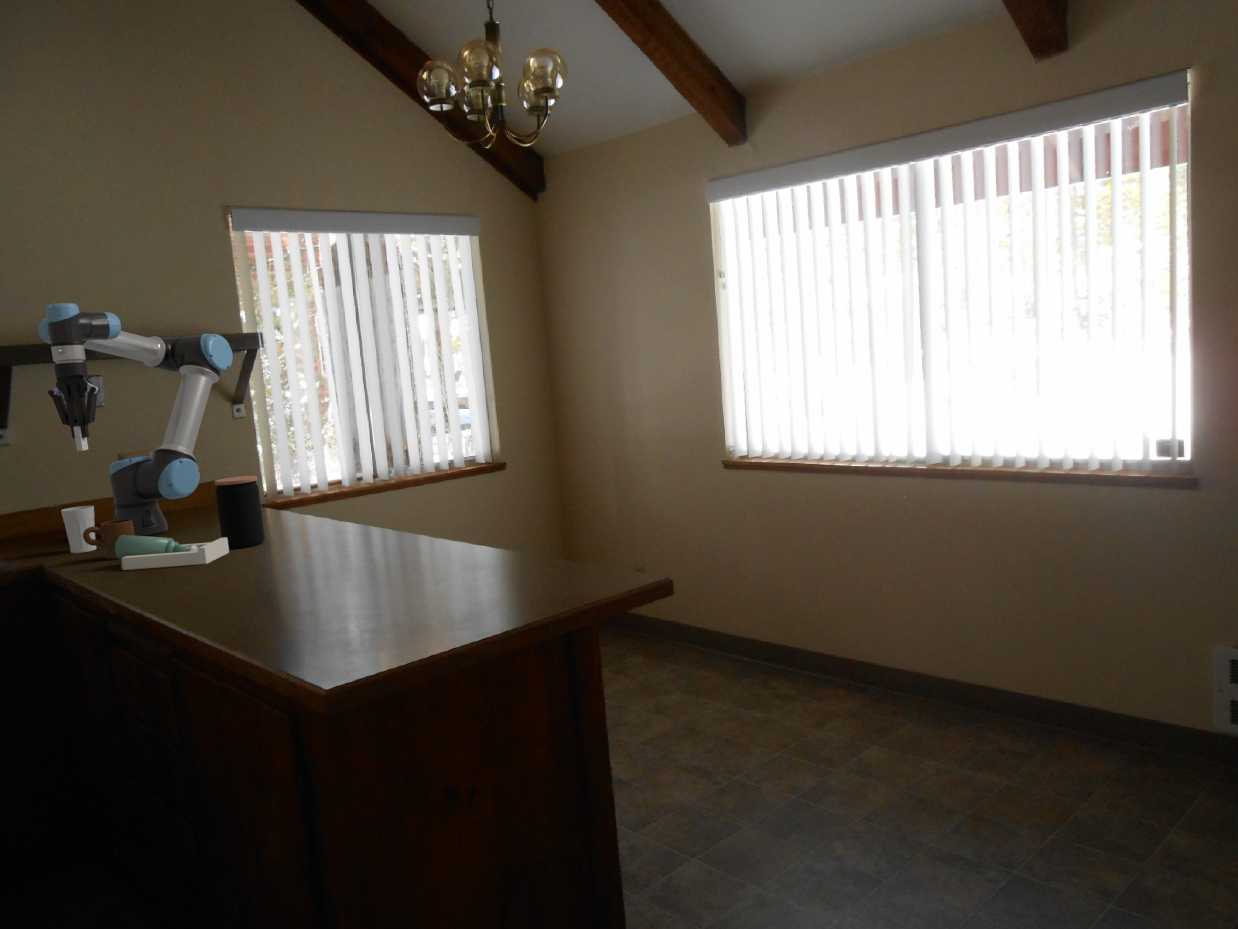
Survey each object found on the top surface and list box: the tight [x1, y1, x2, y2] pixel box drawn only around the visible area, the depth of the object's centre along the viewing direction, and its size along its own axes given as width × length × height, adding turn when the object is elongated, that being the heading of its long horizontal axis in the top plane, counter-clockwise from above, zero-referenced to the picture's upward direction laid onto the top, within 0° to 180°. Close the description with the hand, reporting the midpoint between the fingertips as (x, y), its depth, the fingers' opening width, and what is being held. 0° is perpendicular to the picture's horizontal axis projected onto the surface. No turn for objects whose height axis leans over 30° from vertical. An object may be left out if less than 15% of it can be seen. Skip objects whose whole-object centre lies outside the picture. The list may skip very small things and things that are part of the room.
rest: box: [120, 537, 230, 571], centre depth 232 cm, size 13×22×4 cm, turn 89°
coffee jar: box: [214, 475, 266, 550], centre depth 247 cm, size 11×11×18 cm
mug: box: [83, 519, 135, 560], centre depth 243 cm, size 12×8×9 cm, turn 134°
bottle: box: [115, 535, 198, 560], centre depth 231 cm, size 6×6×18 cm
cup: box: [60, 505, 98, 554], centre depth 259 cm, size 8×8×12 cm
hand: (82, 450), depth 249 cm, fingers closed
